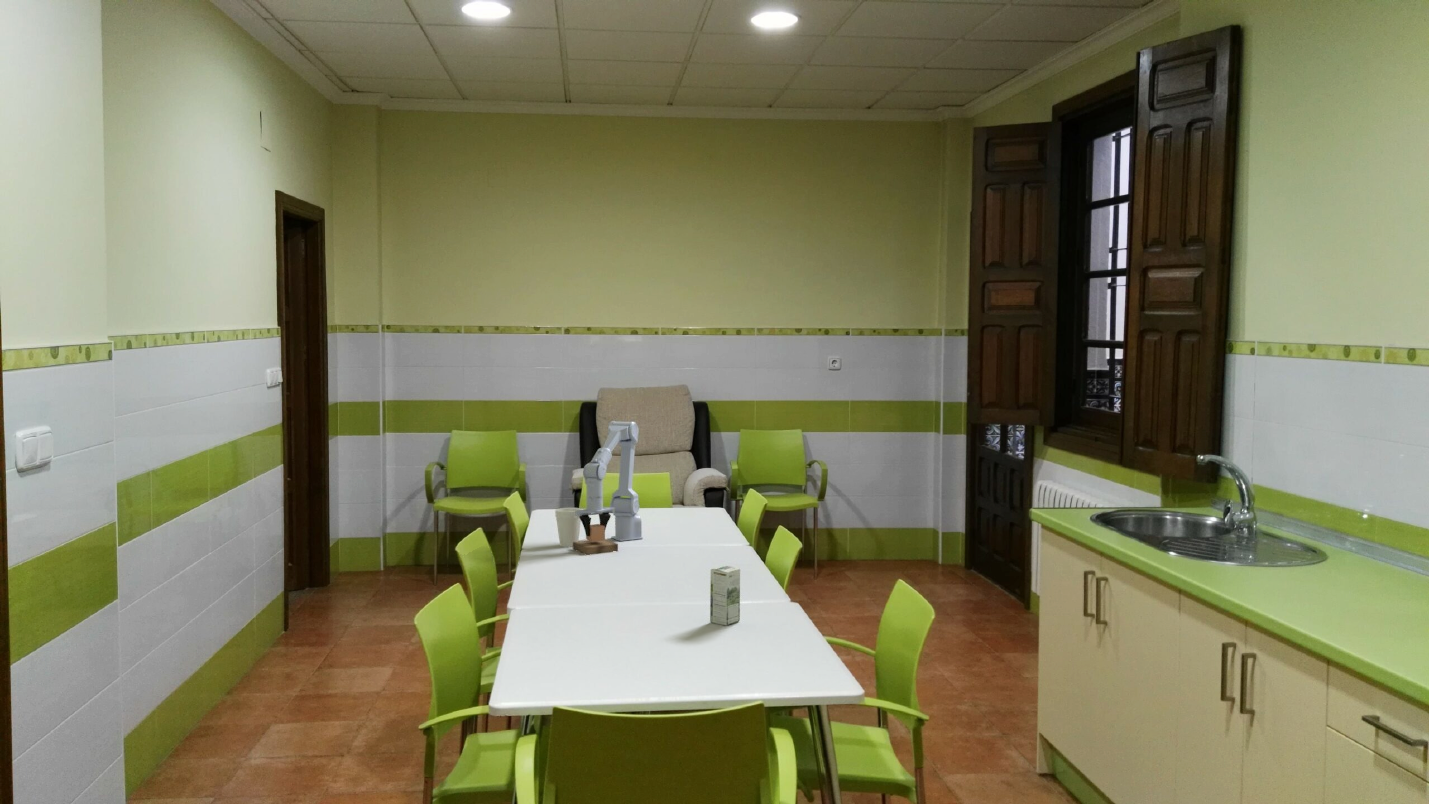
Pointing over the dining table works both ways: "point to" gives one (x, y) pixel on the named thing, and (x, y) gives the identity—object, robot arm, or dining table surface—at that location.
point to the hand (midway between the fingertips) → (595, 534)
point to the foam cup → (568, 526)
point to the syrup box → (725, 595)
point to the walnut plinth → (595, 547)
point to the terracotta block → (596, 533)
